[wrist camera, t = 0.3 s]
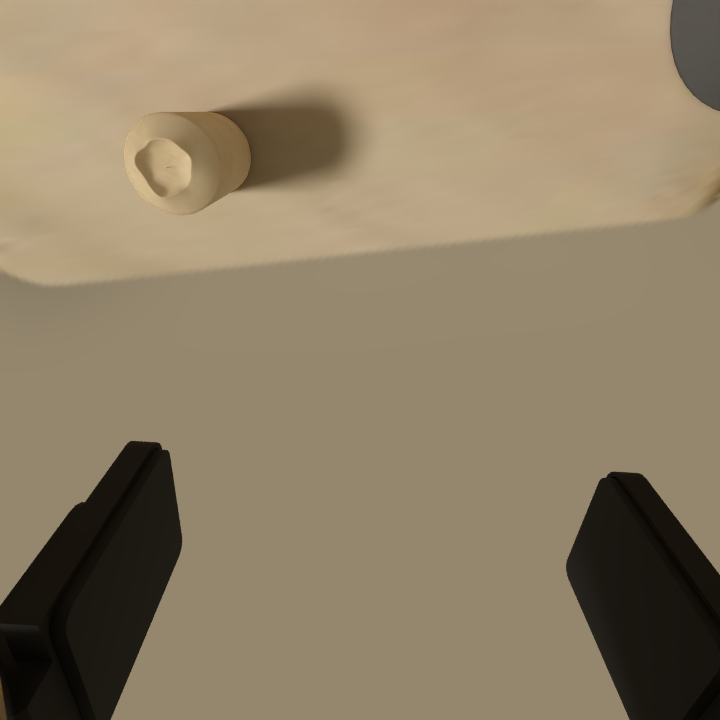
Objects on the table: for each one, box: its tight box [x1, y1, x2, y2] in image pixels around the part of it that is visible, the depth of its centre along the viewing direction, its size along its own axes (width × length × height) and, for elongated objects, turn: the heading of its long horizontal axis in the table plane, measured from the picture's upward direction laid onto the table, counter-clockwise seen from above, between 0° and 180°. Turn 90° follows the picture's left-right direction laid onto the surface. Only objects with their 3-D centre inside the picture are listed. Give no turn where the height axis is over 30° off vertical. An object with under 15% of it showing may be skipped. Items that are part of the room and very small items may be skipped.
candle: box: [124, 112, 251, 215], centre depth 30 cm, size 6×6×10 cm
